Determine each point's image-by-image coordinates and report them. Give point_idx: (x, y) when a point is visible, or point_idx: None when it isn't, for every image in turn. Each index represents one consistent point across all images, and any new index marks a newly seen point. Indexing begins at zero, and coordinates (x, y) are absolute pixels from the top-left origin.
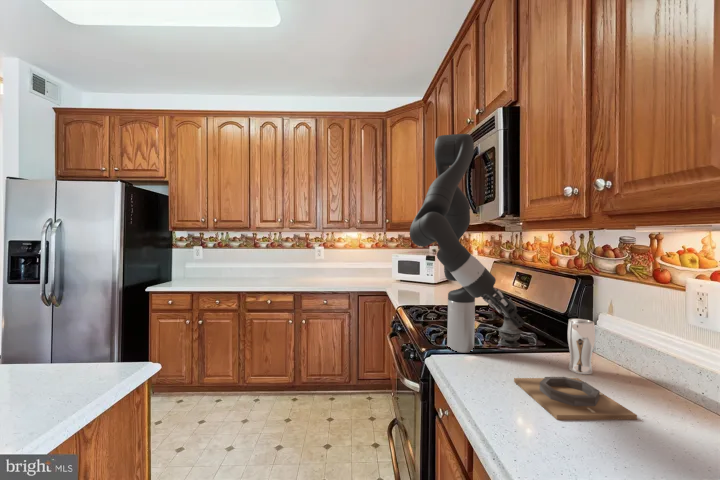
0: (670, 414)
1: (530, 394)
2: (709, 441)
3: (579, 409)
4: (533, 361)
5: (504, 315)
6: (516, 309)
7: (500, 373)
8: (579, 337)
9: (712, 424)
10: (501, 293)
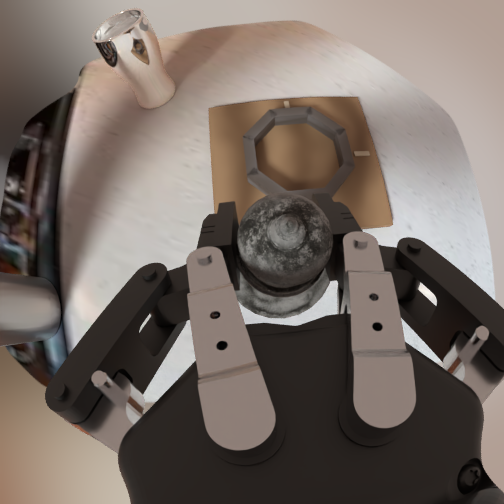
0: (324, 56)
1: None
2: (387, 68)
3: (362, 171)
4: (104, 162)
5: (293, 292)
6: (419, 243)
7: (170, 261)
8: (146, 49)
9: (340, 38)
10: (409, 363)
